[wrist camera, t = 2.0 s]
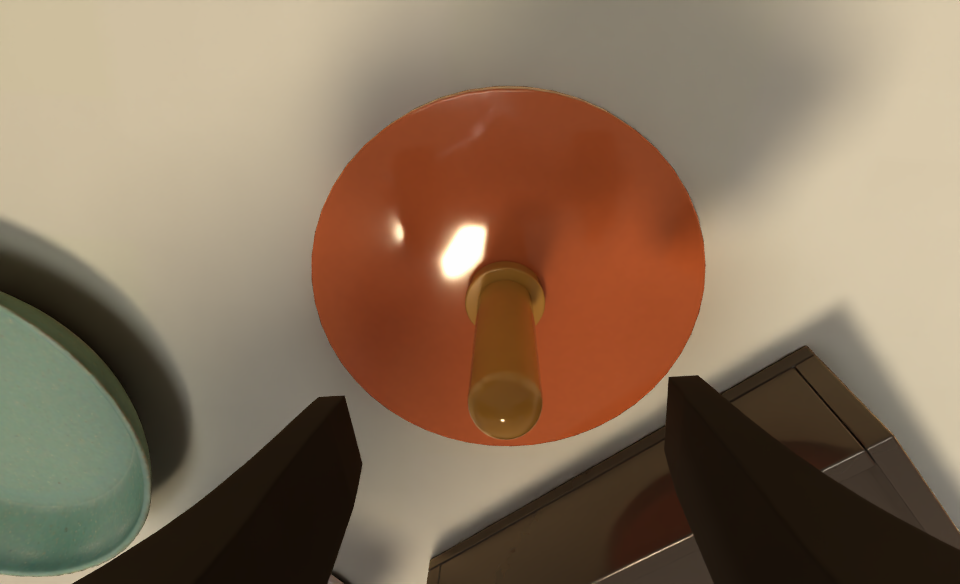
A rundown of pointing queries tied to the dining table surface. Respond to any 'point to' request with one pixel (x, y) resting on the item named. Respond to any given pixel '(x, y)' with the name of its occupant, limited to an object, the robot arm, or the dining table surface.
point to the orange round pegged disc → (508, 266)
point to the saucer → (64, 450)
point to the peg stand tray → (656, 508)
